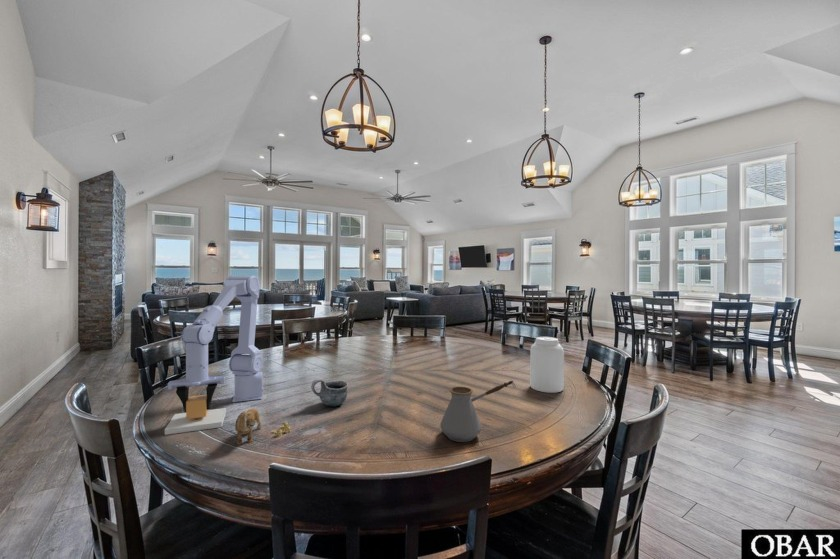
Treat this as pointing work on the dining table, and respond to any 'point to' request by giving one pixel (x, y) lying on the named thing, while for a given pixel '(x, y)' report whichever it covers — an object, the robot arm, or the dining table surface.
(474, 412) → the coffee pot
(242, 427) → the lion figurine
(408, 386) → the dining table surface
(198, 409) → the orange cube
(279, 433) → the dice set
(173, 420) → the plate
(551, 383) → the white jar
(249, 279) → the robot arm
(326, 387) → the mug
